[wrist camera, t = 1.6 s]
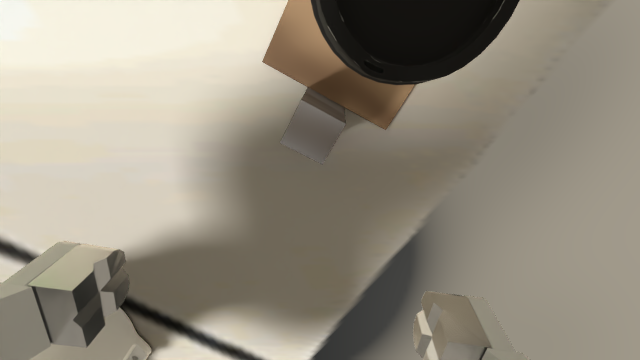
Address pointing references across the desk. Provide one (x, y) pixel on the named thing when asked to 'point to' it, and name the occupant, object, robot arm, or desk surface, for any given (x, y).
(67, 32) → the desk surface
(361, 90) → the walnut strip
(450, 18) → the coffee cup
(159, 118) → the desk surface
